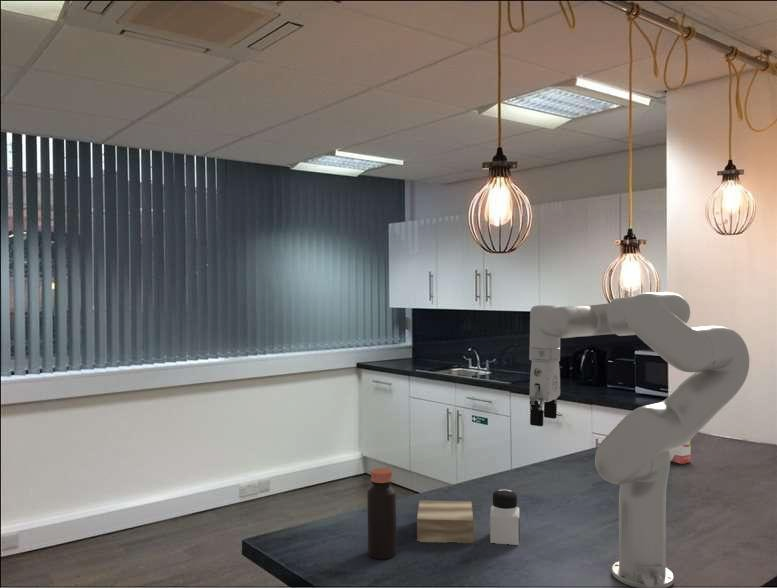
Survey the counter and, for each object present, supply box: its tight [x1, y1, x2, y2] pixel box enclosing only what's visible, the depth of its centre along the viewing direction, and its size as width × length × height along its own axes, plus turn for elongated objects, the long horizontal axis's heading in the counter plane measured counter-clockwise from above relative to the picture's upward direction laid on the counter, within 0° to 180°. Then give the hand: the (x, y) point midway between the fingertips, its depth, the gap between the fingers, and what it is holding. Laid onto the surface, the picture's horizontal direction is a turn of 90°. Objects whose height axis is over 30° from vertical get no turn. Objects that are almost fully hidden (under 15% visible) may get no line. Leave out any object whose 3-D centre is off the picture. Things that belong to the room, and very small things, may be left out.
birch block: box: [416, 499, 475, 544], centre depth 168 cm, size 14×14×6 cm
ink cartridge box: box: [669, 440, 692, 465], centre depth 231 cm, size 9×5×15 cm, turn 25°
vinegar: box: [366, 467, 397, 560], centre depth 155 cm, size 7×7×20 cm
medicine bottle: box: [489, 489, 521, 546], centre depth 163 cm, size 7×7×12 cm
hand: (543, 421), depth 164 cm, fingers open, 9 cm apart
